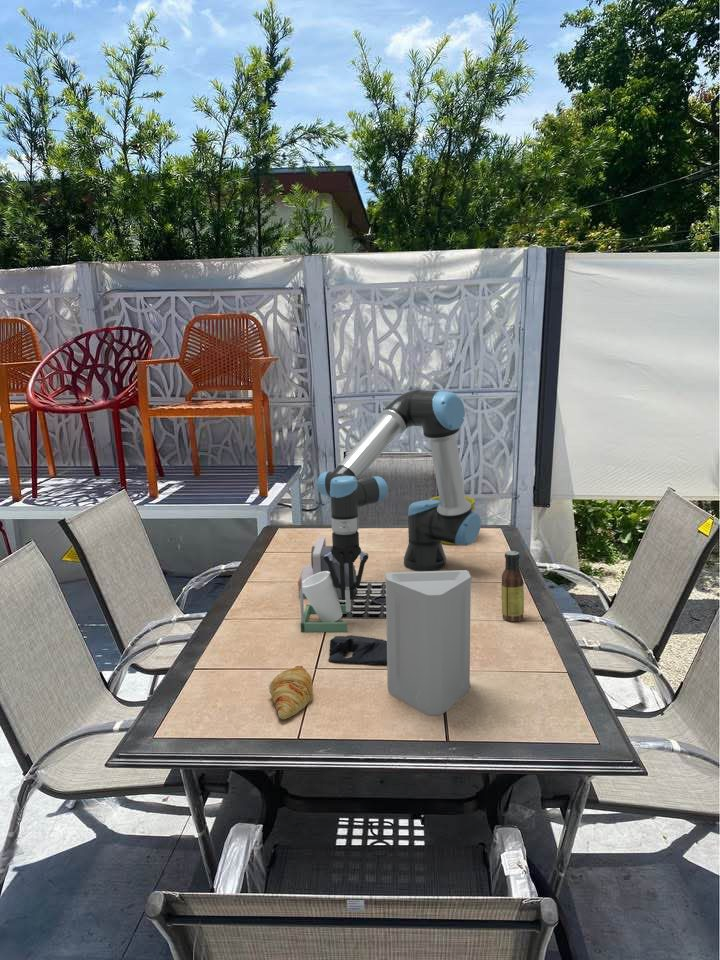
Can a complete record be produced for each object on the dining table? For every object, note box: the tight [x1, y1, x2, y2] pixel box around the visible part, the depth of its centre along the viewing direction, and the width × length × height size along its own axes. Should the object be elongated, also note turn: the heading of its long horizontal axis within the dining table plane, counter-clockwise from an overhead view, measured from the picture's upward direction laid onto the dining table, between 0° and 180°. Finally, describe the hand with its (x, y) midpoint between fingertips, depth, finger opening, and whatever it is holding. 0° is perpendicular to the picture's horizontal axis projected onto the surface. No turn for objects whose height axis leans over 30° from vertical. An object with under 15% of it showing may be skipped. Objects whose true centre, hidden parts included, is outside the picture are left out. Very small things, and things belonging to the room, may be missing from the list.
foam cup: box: [302, 571, 344, 622], centre depth 203 cm, size 10×9×13 cm
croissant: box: [268, 665, 314, 720], centre depth 162 cm, size 21×10×8 cm, turn 176°
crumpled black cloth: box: [327, 635, 387, 665], centre depth 184 cm, size 15×22×5 cm
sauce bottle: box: [501, 550, 525, 623], centre depth 202 cm, size 6×6×20 cm
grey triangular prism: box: [385, 569, 472, 716], centre depth 159 cm, size 19×15×28 cm
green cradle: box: [297, 574, 351, 633], centre depth 201 cm, size 13×18×16 cm
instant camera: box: [298, 536, 358, 600], centre depth 230 cm, size 21×21×15 cm
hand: (348, 609), depth 203 cm, fingers closed
